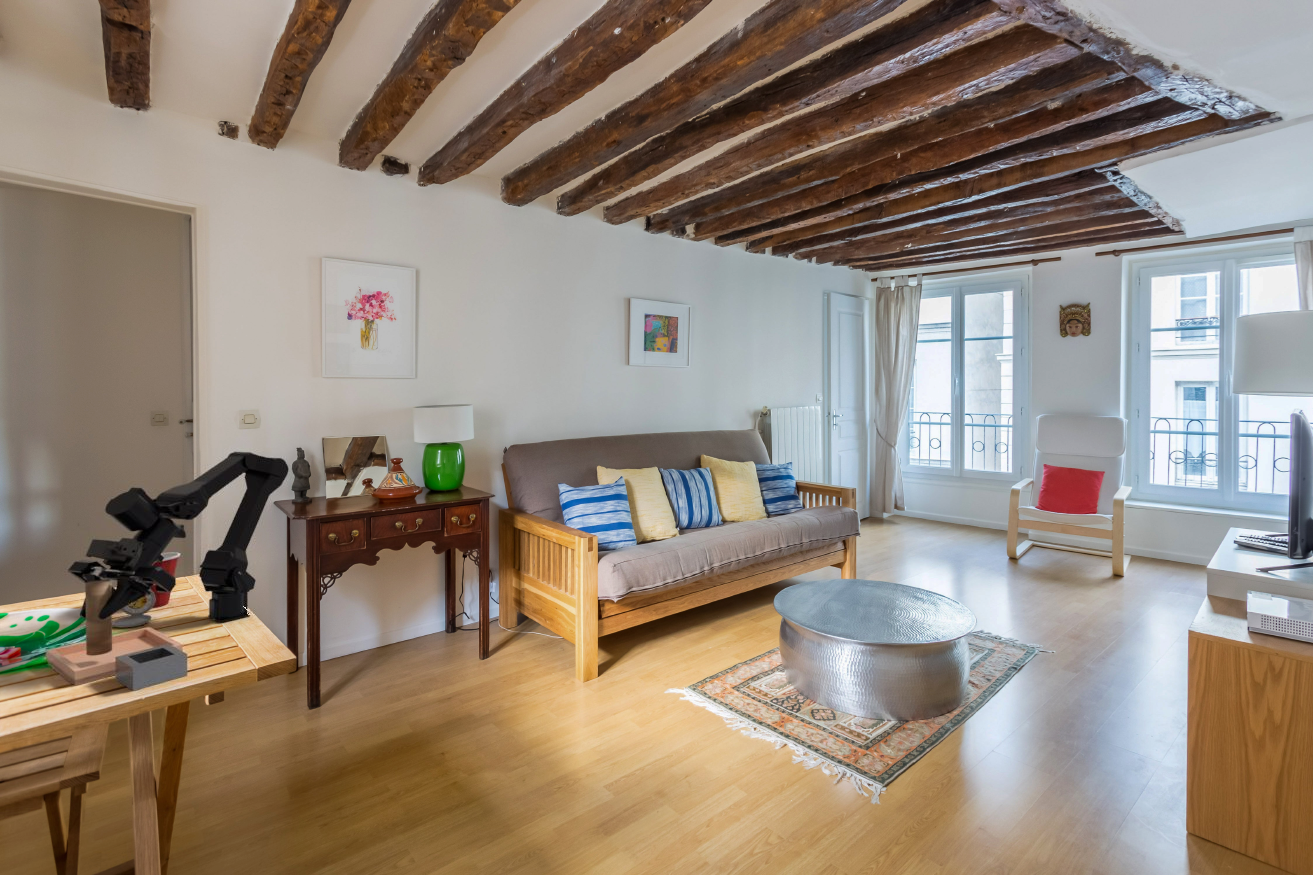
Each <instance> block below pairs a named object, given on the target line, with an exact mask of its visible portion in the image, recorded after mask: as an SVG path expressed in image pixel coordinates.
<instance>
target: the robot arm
mask: <svg viewBox="0 0 1313 875" xmlns="http://www.w3.org/2000/svg"><path fill="white" fill-rule="evenodd" d="M288 473H289V465H288V463H287V462H286V460H285V459H283V458H282V457H267V456H262V455H258V454H255V453H252V452H250V451H249V452H248V451H233V452H231V453H229V454H228V455H227V457H226V458H224V459H223V460H222V461H220V462H219V463H217V464H216V465H214V466H213V467H211V468H210V469H208V470H207V471H205V472H204V473H203V474H202V473H201V475H199V476H198V477H196V478H195V479H194V480H192V481H190V482H188V483H185V484H180V485H177V486H174V487H172V488H168V490H165V491H163V492H161V493H159V494H158V495H157V497H155V498H152V497H150V495H148V494H147V492H146V491H145V490H144V489H143V488H142V487H131V488H130V489H129V490H128V491H126V492H123V493H122V492H121V494H119V495H117V496H115V497H113V498H111V499H110V500H109V501H108V503H107V504H106V505H105V509H104V510H105V511H104V512H105V513H106V514H107V515H108V516H110V517H111V518H113V520H115V522H117V523H118V524H120V525H121V526H122V527H123V528H124V529H126V530H127V531H128V532H136V533H135V534H134V535H133V537H132V538H130V537H129V538H128V537H122V538H121V539H120V540H119V541H115V540H106V539H95V538H94V539H92V540H91V542H90V544H89V545H88V546H89V547H88V548H87V551H86V553H85V557H87V558H96V559H97V558H98V559H102V560H103V561H102V563H103V564H104V565H106V566H109V568H107V567H106V566H104V565H103V564H101V563H100V562H99V561H97V560H87V559H86V560H84V559H82V560H76V561H74V562H73V564H71V566H70V567H69V568H68V570H67V572H68V573H69V574H71V575H72V576H74V577H76V578H77V579H78V580H80V581H81V582H83V583H84V584H86V583H88V582H91V581H96V580H111V597H110V599H109V600H108V601H107V603H106V604H105V606H104V607H103V609H102V610H101V612H100V614H99V616H98V617H99V618H100V619H105V618H107V617H109V616H110V615H112V616H113V615H114V614H115V613H118V611H120V610H121V609H122V608H124V607H126V606H127V605H129V604H132V603H133V602H134V601H136V600H138V599H140V598H142V597H144V596H146V595H150V594H151V592H150V591H149V590H150V589H151V587H152V586H153V585H155V584H157V585H156V587H155V588H156V591H157V592H160V593H170V592H172V591H173V590H174V588H175V586H176V584H177V583H176V581H177V580H176V577H175V576H174V577H173V576H172V575H171V574H170V573H168V572H167V571H166V570H165V569H163V568H162V567H161V566H152V565H153V564H154V563H155V562H162V560H163V559H164V557H163V556H162V555H161V554H162V553H164V551H165V549H167V547H168V546H169V544H170V543H171V541H172V540H173V539H174V538H178V539H185V538H186V537H187V535H186V534H187V533H186V531H185V526H184V524H177V523H176V522H175V521H173V520H184V521H191V520H194V519H195V518H197V517H198V516H199V515H200V514H201V513H203V511H205V509H206V508H207V507H208V505H209V500H210V499H211V498H212V497H213V496H214V495H216V494H217V493H219V491H221V490H222V489H224V488H225V487H226V486H227V485H229V484H231V483H232V482H233V481H235V480H236V479H238V478H239V477H240V476H241V475H242V474H244V481H245V484H246V485H245V486H246V490H245V493H244V494H243V496H242V499H241V502H240V504H239V506H238V508H237V510H236V512H235V515H234V517H233V519H232V522H231V524H230V526H229V528H228V530H227V533H226V535H225V537H224V540H223V542H222V544H221V545H220V546H219V547H218V548H217V549H214V550H213V549H209V550H207V552H206V553H205V556H204V559H203V561H202V562H201V564H200V565H199V568H200V570H199V575H198V576H199V578H200V581H201V583H202V585H203V587H204V591H205V592H207V593H208V592H210V593H211V598H210V599H209V600H208V601H209V602H208V603H209V604H208V606H209V608H208V618H209V619H212V620H213V621H216V622H218V623H225V622H230V621H233V620H237V618H239V619H242V617H243V618H247V617H249V616H248V614H249V613H250V612H249V611H247V610H246V609H248V610H249V608H248V607H249V606H248V602H249V600H248V596H249V594H248V593H250V592H251V590H254V588H255V584H256V579H255V578H254V577H253V576H252V575H251V574H250V573H249V572H248V571H247V569H248V565H249V561H248V557H247V556H248V555H247V549H248V547H249V544H250V542H251V539H252V537H253V535H254V533H255V531H256V528H257V525H258V524H259V520H260V518H261V516H262V513H263V511H264V510H265V509H264V508H265V507H266V504H267V502H268V499H269V497H270V495H271V494H273V493H274V492H275V491H276V490H277V489H279V488H280V487H281V486H282V485H283V483H284V481H285V480H286V478H287V476H288ZM114 581H116V588H115V587H113V586H112V585H113V582H114ZM82 603H83V604H82V607H81V610H80V613H79V616H80V617H82V618H85V619H86V596H85V597H84V600H83V602H82ZM133 604H134V603H133ZM243 606H244V607H246V609H245V608H244V607H243ZM247 612H249V613H248V614H247ZM246 616H247V617H246Z"/></svg>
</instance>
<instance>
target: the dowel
mask: <svg viewBox="0 0 1313 875" xmlns="http://www.w3.org/2000/svg"><path fill="white" fill-rule="evenodd" d="M84 585H85V590H84V592H85V593H84V594H85V597H86V618H85V639H86V640H85V641H86V654H87V655H90V656H94V655H101V654H105V653H108V652H110V651H112V635H113V614H112V615H110V616H109V617H107V618H105V619H100V618H99V617H98V616H99V614H100V612H101V610H102V609H103V607H104V606H105V604H106V603H107V601H108V600H109V599H110V597H111V586H112V584H111V580H96V581H91V582H88V583H84Z"/></svg>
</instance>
